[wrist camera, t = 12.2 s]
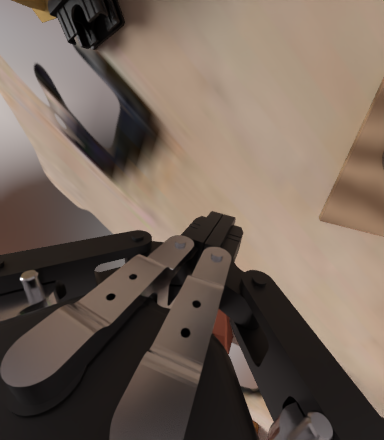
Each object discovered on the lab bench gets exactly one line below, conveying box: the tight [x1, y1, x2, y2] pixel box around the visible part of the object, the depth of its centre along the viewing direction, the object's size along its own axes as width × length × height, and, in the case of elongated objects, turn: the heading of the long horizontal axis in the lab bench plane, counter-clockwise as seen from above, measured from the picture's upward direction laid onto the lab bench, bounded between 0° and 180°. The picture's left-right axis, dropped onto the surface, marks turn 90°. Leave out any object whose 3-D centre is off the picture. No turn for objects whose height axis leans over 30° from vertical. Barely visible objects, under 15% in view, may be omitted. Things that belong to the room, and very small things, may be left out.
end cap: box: [48, 0, 125, 50], centre depth 35 cm, size 10×7×7 cm
